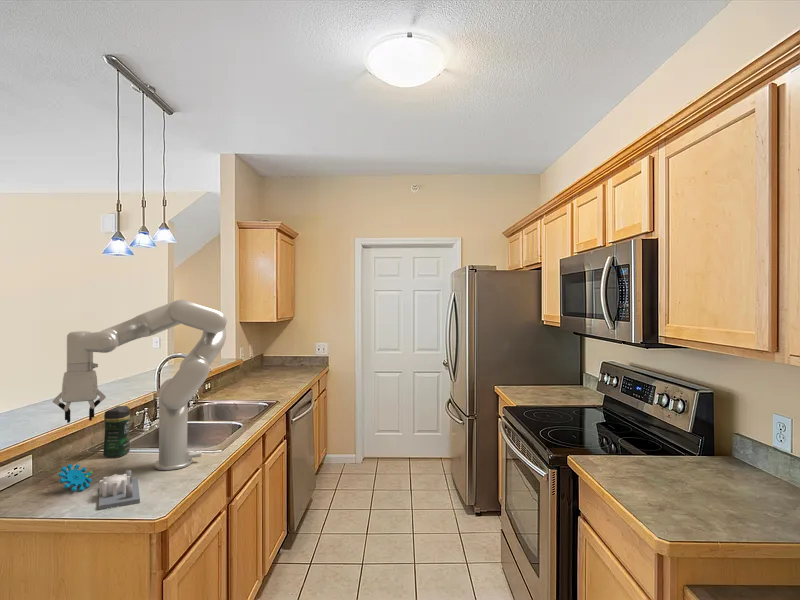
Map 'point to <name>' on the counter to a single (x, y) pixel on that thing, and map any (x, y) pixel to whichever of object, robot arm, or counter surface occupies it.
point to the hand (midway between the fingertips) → (79, 420)
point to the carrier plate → (122, 497)
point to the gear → (75, 477)
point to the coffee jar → (116, 432)
